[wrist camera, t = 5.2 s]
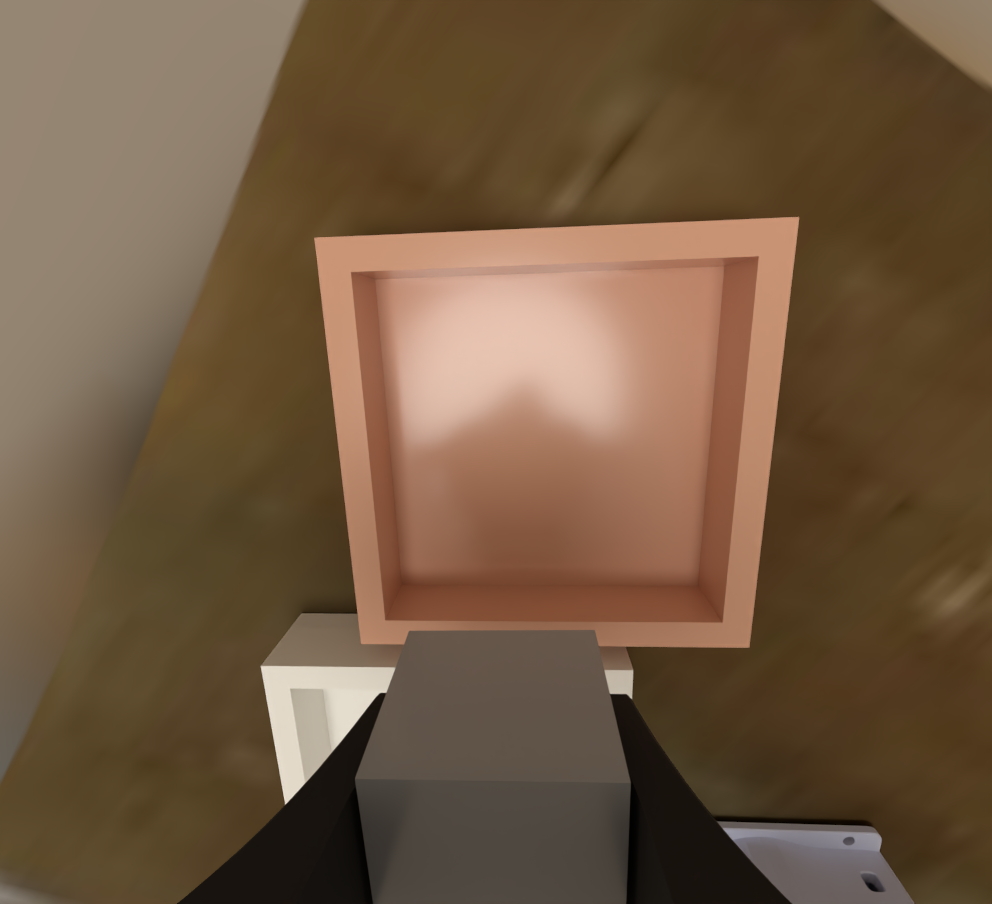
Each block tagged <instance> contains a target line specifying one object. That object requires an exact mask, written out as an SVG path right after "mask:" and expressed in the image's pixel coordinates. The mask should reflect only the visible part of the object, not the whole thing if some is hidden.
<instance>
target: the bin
mask: <svg viewBox="0 0 992 904" xmlns="http://www.w3.org/2000/svg"><path fill="white" fill-rule="evenodd" d="M798 223H799V217H787V218H764V219H741V220H717V221H694V222H671V223H648V224H624V225H601V226H578V227H555V228H531V229H508V230H485V231H462V232H438V233H415V234H392V235H369V236H345V237H322V238H315V246H316V255H317V263H318V272H319V281H320V290H321V298H322V307H323V316H324V325H325V333H326V342H327V351H328V359H329V368H330V377H331V386H332V394H333V403H334V412H335V421H336V429H337V438H338V447H339V455H340V464H341V473H342V482H343V490H344V499H345V508H346V517H347V525H348V534H349V543H350V551H351V560H352V569H353V578H354V586H355V595H356V604H357V613H358V621H359V630H360V639H361V644H404V643H405V641H406V638H407V635H408V632H409V631H446V630H595V633H596V637H597V641H598V645H599V646H622V647H731V648H749V645H750V637H751V628H752V620H753V611H754V602H755V594H756V585H757V576H758V568H759V559H760V551H761V542H762V533H763V525H764V516H765V508H766V499H767V490H768V482H769V473H770V464H771V456H772V447H773V439H774V430H775V421H776V413H777V404H778V396H779V387H780V378H781V370H782V361H783V352H784V344H785V335H786V327H787V318H788V309H789V301H790V292H791V284H792V275H793V266H794V258H795V249H796V240H797V232H798Z"/></svg>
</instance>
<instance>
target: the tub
mask: <svg viewBox="0 0 992 904" xmlns="http://www.w3.org/2000/svg"><path fill="white" fill-rule="evenodd" d="M403 646H404V644H361V639H360V630H359V621H358V614H323V613H301V615H300V616H299V617H298V618H297V620H296V621H295V622H294V624H293V625H292V626H291V628H290V629H289V630H288V631H287V633H286V634H285V635H284V637H283V638H282V639H281V640H280V642H279V643H278V644H277V646H276V647H275V648H274V650H273V651H272V652H271V653H270V655H269V656H268V657H267V659H266V660H265V661H264V663H263V664H262V665H261V669H262V675H263V681H264V686H265V692H266V698H267V703H268V709H269V715H270V720H271V726H272V732H273V737H274V743H275V749H276V754H277V760H278V766H279V771H280V777H281V783H282V788H283V794H284V800H285V805H286V804H287V803H288V801H289V800H290V799H291V798H292V797H293V796H294V795H295V794H296V793H297V792H298V791H299V789H300V788H301V787H302V786H303V785H304V784H305V783H306V782H307V781H308V780H309V778H310V777H311V776H312V775H313V774H314V773H315V772H316V771H317V769H318V768H319V767H320V766H321V765H322V764H323V762H324V761H325V760H326V759H327V758H328V756H329V755H330V754H331V753H332V752H333V750H334V749H335V748H336V747H337V746H338V744H339V743H340V742H341V741H342V740H343V738H344V737H345V736H346V735H347V733H348V732H349V731H350V730H351V728H352V727H353V726H354V725H355V723H356V722H357V721H358V719H359V718H360V717H361V716H362V714H363V713H364V712H365V710H366V709H367V708H368V707H369V705H370V704H371V703H372V701H373V700H374V699H375V697H376V696H377V695H378V694H379V693H386V692H387V690H388V687H389V684H390V681H391V679H392V676H393V673H394V671H395V668H396V665H397V662H398V660H399V657H400V654H401V651H402V649H403ZM599 650H600V654H601V658H602V662H603V667H604V671H605V675H606V679H607V684H608V688H609V692H610V694H627V695H628V696H629V697H630V698H631V699H632V688H633V668H632V665H631V661H630V658H629V655H628V652H627V649H626V647H622V646H599Z"/></svg>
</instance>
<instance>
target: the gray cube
mask: <svg viewBox="0 0 992 904" xmlns="http://www.w3.org/2000/svg"><path fill="white" fill-rule="evenodd" d="M355 783H356V790H357V797H358V804H359V811H360V818H361V824H362V831H363V838H364V845H365V852H366V859H367V865H368V872H369V879H370V886H371V893H372V900H373V904H626V897H627V870H628V844H629V817H630V791H631V782H630V777H629V773H628V769H627V765H626V760H625V756H624V752H623V748H622V743H621V739H620V735H619V731H618V726H617V722H616V718H615V714H614V709H613V705H612V701H611V696H610V692H609V688H608V684H607V679H606V675H605V671H604V667H603V662H602V658H601V654H600V650H599V645H598V641H597V637H596V633H595V630H446V631H409V632H408V635H407V638H406V641H405V643H404V646H403V649H402V651H401V654H400V657H399V660H398V662H397V665H396V668H395V671H394V673H393V676H392V679H391V681H390V684H389V687H388V690H387V692H386V695H385V698H384V701H383V703H382V706H381V709H380V712H379V714H378V717H377V720H376V722H375V725H374V728H373V731H372V733H371V736H370V739H369V742H368V744H367V747H366V750H365V752H364V755H363V758H362V761H361V763H360V766H359V769H358V772H357V774H356V777H355Z"/></svg>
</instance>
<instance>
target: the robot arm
mask: <svg viewBox="0 0 992 904" xmlns="http://www.w3.org/2000/svg"><path fill="white" fill-rule="evenodd" d="M385 695H386V693H379V694H378V695H377V696H376V697H375V699H374V700H373V701H372V703H371V704H370V705H369V707H368V708H367V709H366V710H365V712H364V713H363V714H362V716H361V717H360V718H359V719H358V721H357V722H356V723H355V725H354V726H353V727H352V728H351V730H350V731H349V732H348V733H347V735H346V736H345V737H344V738H343V740H342V741H341V742H340V743H339V744H338V746H337V747H336V748H335V749H334V750H333V752H332V753H331V754H330V755H329V756H328V758H327V759H326V760H325V761H324V762H323V764H322V765H321V766H320V767H319V768H318V769H317V771H316V772H315V773H314V774H313V775H312V776H311V777H310V778H309V780H308V781H307V782H306V783H305V784H304V785H303V786H302V787H301V788H300V789H299V791H298V792H297V793H296V794H295V795H294V796H293V797H292V798H291V799H290V800H289V801H288V803H287V804H286V805H285V806H284V807H283V808H282V809H281V810H280V811H279V812H278V813H277V814H276V815H275V816H274V817H273V818H272V819H271V820H270V821H269V822H268V823H267V824H266V825H265V826H264V827H263V828H262V829H261V830H260V831H259V832H258V833H257V834H256V835H255V836H254V837H253V838H252V839H251V840H250V841H248V842H247V843H246V844H245V845H244V846H243V847H242V848H241V849H240V850H239V851H238V852H237V853H236V854H234V855H233V856H232V857H231V858H230V859H229V860H228V861H227V862H225V863H224V864H223V865H222V866H221V867H220V868H219V869H218V870H216V871H215V872H214V873H213V874H212V875H211V876H210V877H208V878H207V879H206V880H205V881H204V882H203V883H201V884H200V885H199V886H198V887H197V888H196V889H194V890H193V891H192V892H191V893H190V894H188V895H187V896H186V897H185V898H184V899H182V900H181V901H180V902H179V903H177V904H373V900H372V893H371V886H370V879H369V872H368V865H367V859H366V852H365V845H364V838H363V831H362V824H361V818H360V811H359V804H358V797H357V790H356V783H355V777H356V774H357V772H358V769H359V766H360V763H361V761H362V758H363V755H364V752H365V750H366V747H367V744H368V742H369V739H370V736H371V733H372V731H373V728H374V725H375V722H376V720H377V717H378V714H379V712H380V709H381V706H382V703H383V701H384V698H385ZM610 696H611V701H612V705H613V709H614V714H615V718H616V722H617V726H618V731H619V735H620V739H621V743H622V748H623V752H624V756H625V760H626V765H627V769H628V773H629V777H630V782H631V791H630V817H629V844H628V870H627V897H626V904H915V903H914V902H913V900H912V899H911V897H910V896H909V894H908V893H907V891H906V890H905V888H904V887H903V885H902V884H901V883H900V881H899V880H898V878H897V877H896V875H895V874H894V872H893V871H892V869H891V868H890V866H889V865H888V863H887V862H886V860H885V859H884V857H883V856H882V854H881V853H880V852H879V851H880V847H881V842H882V838H881V836H880V835H879V834H878V832H877V831H876V829H875V828H873V827H870V826H852V825H819V824H786V823H754V822H721V821H716V820H715V819H714V817H713V816H712V815H711V814H710V812H709V811H708V810H707V809H706V807H705V806H704V805H703V804H702V802H701V801H700V800H699V799H698V797H697V796H696V795H695V793H694V792H693V791H692V789H691V788H690V787H689V786H688V784H687V783H686V782H685V780H684V779H683V777H682V776H681V775H680V773H679V772H678V770H677V769H676V768H675V766H674V765H673V763H672V762H671V761H670V759H669V758H668V756H667V755H666V754H665V752H664V751H663V749H662V748H661V746H660V745H659V743H658V742H657V740H656V739H655V737H654V736H653V734H652V733H651V731H650V729H649V728H648V726H647V725H646V723H645V721H644V720H643V718H642V717H641V715H640V713H639V711H638V710H637V708H636V706H635V705H634V703H633V701H632V699H631V698H630V697H629V696H628V695H627V694H610Z"/></svg>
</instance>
